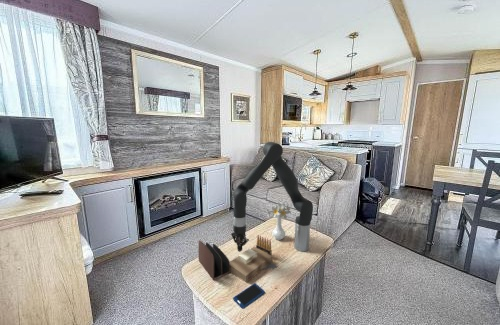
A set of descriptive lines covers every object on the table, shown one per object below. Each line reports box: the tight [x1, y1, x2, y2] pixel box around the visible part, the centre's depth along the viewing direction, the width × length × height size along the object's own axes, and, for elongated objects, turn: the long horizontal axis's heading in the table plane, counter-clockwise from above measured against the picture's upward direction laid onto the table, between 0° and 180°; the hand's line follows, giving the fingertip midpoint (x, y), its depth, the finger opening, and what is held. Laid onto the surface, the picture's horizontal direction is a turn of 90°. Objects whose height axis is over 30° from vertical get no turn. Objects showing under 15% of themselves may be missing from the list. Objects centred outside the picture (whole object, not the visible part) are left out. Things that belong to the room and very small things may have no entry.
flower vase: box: [264, 202, 292, 241], centre depth 142 cm, size 13×18×25 cm
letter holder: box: [198, 239, 231, 281], centre depth 113 cm, size 10×20×14 cm, turn 36°
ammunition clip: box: [255, 234, 273, 257], centre depth 124 cm, size 11×2×12 cm, turn 51°
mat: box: [262, 262, 279, 271], centre depth 107 cm, size 20×9×1 cm, turn 137°
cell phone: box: [232, 283, 266, 309], centre depth 94 cm, size 7×14×1 cm, turn 131°
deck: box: [229, 246, 273, 283], centre depth 114 cm, size 22×14×4 cm, turn 137°
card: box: [238, 248, 257, 264], centre depth 115 cm, size 9×6×2 cm, turn 137°
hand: (239, 250), depth 120 cm, fingers closed
